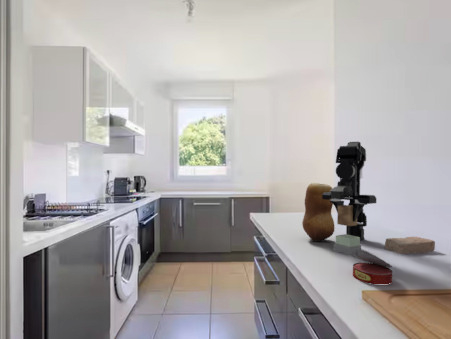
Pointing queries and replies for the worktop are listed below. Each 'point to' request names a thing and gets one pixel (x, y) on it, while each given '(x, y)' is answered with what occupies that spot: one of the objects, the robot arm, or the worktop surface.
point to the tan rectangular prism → (346, 215)
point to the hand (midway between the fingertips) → (347, 220)
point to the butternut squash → (318, 213)
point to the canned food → (371, 268)
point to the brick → (410, 245)
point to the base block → (345, 249)
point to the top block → (347, 240)
